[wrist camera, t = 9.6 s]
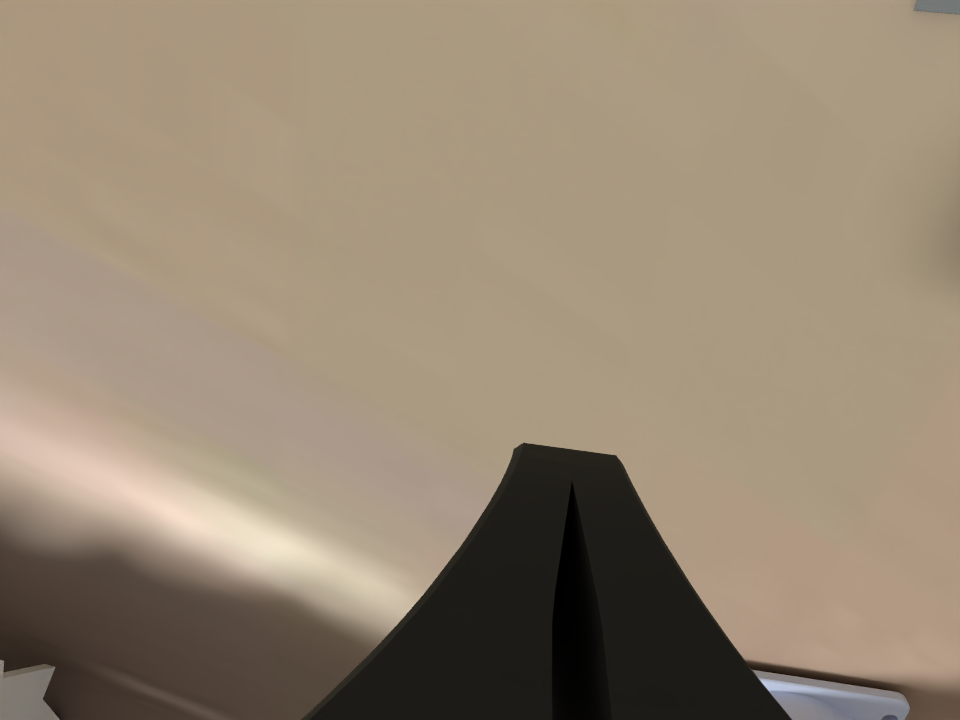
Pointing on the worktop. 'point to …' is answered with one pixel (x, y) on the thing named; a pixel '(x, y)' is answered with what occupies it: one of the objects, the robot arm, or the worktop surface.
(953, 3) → the mat
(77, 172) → the worktop surface
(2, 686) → the spiral staircase
